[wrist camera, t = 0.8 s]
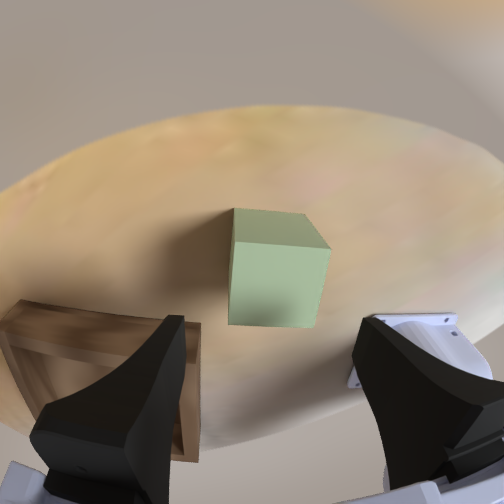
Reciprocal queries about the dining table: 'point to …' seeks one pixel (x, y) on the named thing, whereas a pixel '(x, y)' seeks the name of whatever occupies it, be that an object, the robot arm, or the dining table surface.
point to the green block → (275, 269)
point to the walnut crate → (91, 359)
